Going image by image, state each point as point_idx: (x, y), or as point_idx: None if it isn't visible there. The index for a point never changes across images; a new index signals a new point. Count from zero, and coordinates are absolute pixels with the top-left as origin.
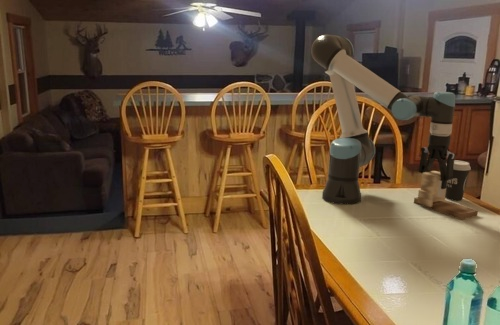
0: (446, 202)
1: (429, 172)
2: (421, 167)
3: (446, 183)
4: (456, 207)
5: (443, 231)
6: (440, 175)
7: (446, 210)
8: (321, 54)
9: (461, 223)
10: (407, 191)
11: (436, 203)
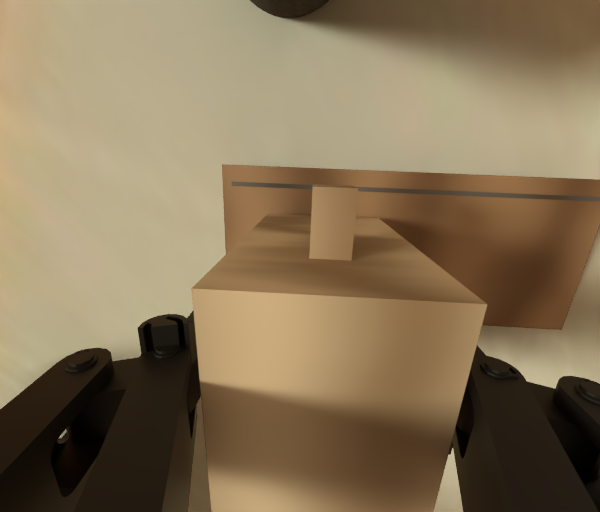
0: (390, 214)
1: (243, 444)
2: (76, 503)
3: (476, 350)
4: (483, 249)
5: None
6: (440, 458)
7: None
8: None
9: (555, 355)
10: (42, 136)
11: None
